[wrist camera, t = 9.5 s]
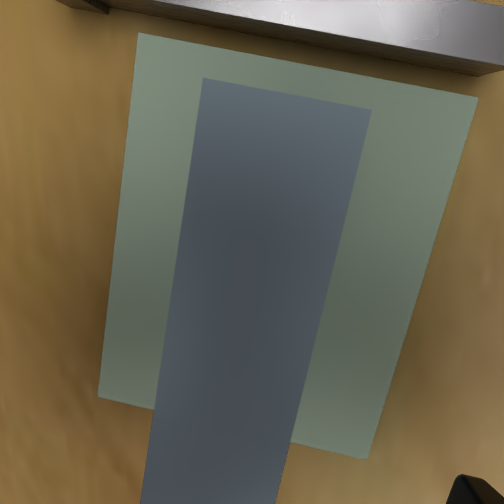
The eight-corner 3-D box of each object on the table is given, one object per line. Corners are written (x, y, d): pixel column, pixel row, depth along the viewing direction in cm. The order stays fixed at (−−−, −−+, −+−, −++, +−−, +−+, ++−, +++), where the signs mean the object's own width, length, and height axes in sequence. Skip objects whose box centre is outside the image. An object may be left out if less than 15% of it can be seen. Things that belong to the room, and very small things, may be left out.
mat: (471, 98, 17) (478, 97, 16) (364, 447, 21) (367, 460, 20) (145, 36, 18) (138, 32, 17) (104, 387, 22) (97, 396, 21)
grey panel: (338, 115, 17) (372, 109, 8) (272, 405, 20) (246, 617, 12) (255, 99, 17) (203, 77, 8) (203, 389, 20) (127, 587, 12)
